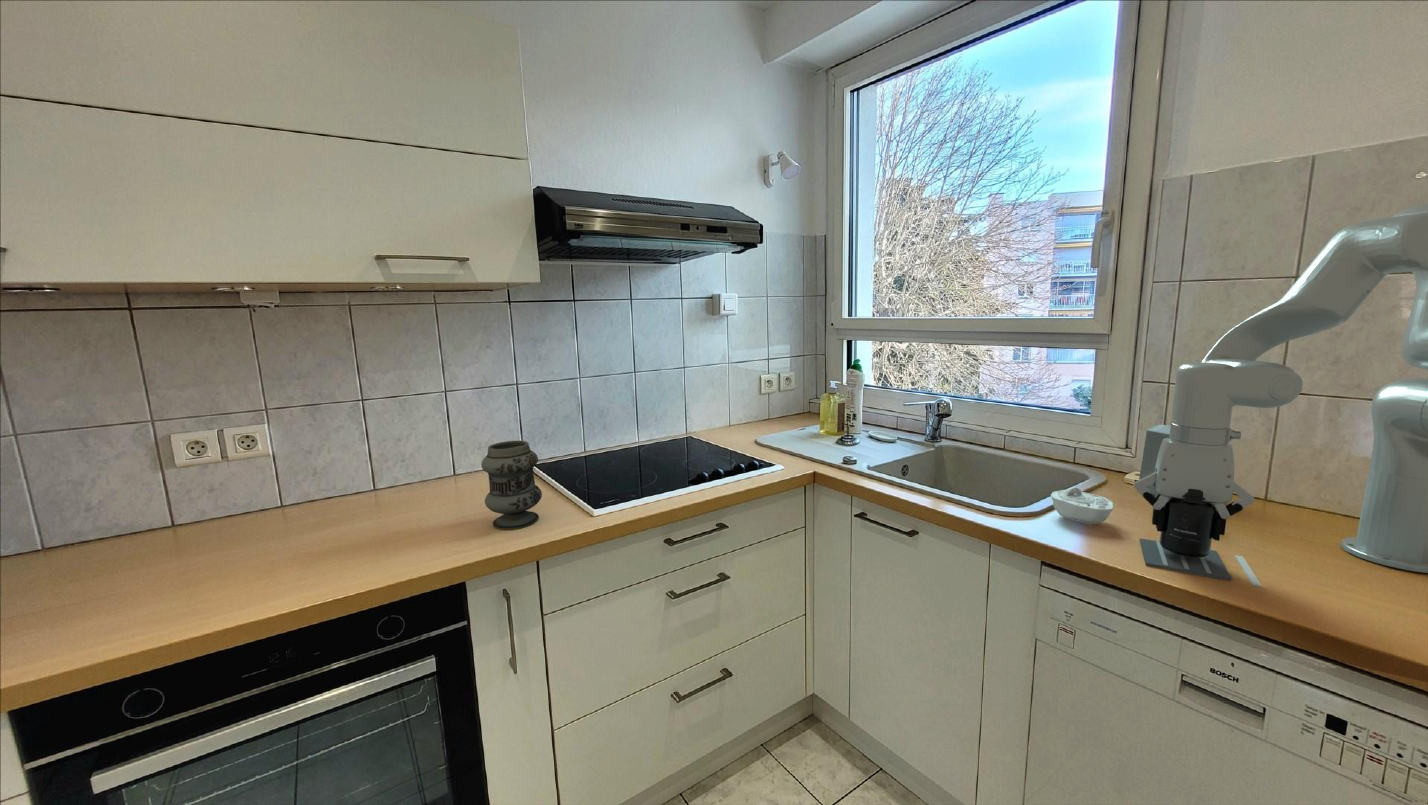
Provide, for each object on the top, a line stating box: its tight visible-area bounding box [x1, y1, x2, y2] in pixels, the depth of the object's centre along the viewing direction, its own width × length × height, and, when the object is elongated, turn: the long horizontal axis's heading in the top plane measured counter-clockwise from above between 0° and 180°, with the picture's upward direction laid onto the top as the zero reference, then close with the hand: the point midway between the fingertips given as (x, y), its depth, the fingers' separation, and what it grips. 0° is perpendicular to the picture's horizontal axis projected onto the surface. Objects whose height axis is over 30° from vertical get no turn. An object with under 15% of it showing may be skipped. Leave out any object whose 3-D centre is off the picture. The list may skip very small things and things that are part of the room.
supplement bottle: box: [1159, 489, 1217, 557], centre depth 95 cm, size 7×7×12 cm
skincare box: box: [1138, 424, 1171, 496], centre depth 129 cm, size 8×7×16 cm
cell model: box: [1050, 486, 1115, 526], centre depth 114 cm, size 10×12×7 cm
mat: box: [1139, 537, 1233, 582], centre depth 96 cm, size 11×12×1 cm
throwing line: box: [1234, 554, 1262, 588], centre depth 91 cm, size 1×12×1 cm, turn 146°
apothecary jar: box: [480, 440, 543, 531], centre depth 120 cm, size 12×12×18 cm
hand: (1186, 532), depth 95 cm, fingers closed on supplement bottle, 6 cm apart
